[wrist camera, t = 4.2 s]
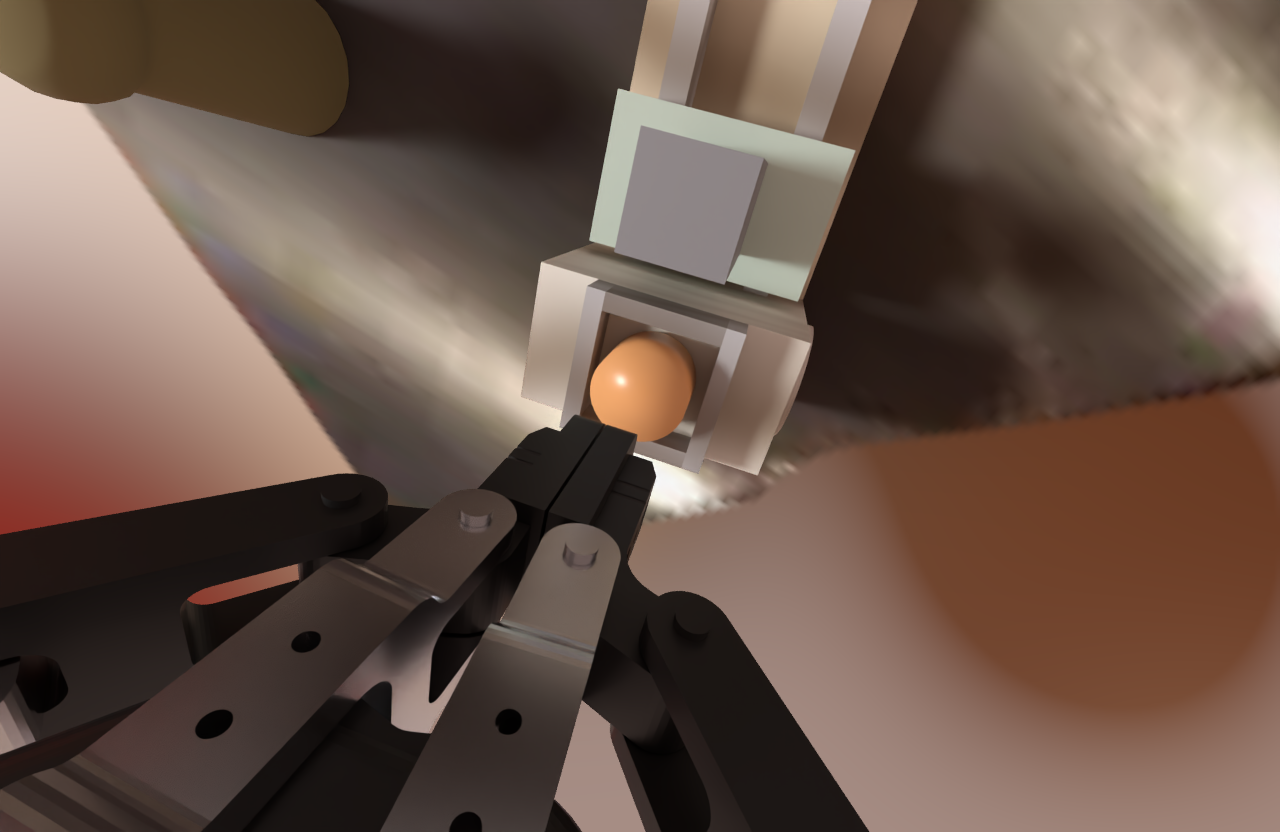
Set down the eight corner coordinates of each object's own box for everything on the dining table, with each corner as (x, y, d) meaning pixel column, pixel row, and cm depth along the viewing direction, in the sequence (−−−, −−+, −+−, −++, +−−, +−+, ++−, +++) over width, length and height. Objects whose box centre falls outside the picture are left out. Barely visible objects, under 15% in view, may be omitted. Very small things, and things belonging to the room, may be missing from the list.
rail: (752, -456, 16) (723, -1149, 7) (1089, -408, 15) (1485, -1149, 6) (589, 338, 27) (506, 409, 19) (774, 396, 26) (772, 498, 18)
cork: (367, 40, 24) (77, -56, 14) (325, 163, 26) (58, 155, 17) (252, -52, 23) (-131, -218, 13) (221, 83, 26) (-115, 26, 16)
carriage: (629, 94, 19) (549, 50, 12) (849, 152, 18) (891, 138, 12) (600, 236, 21) (520, 263, 15) (796, 293, 21) (805, 349, 14)
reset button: (619, 319, 17) (600, 335, 16) (707, 346, 17) (699, 366, 15) (600, 400, 19) (581, 424, 17) (682, 427, 18) (672, 454, 17)
